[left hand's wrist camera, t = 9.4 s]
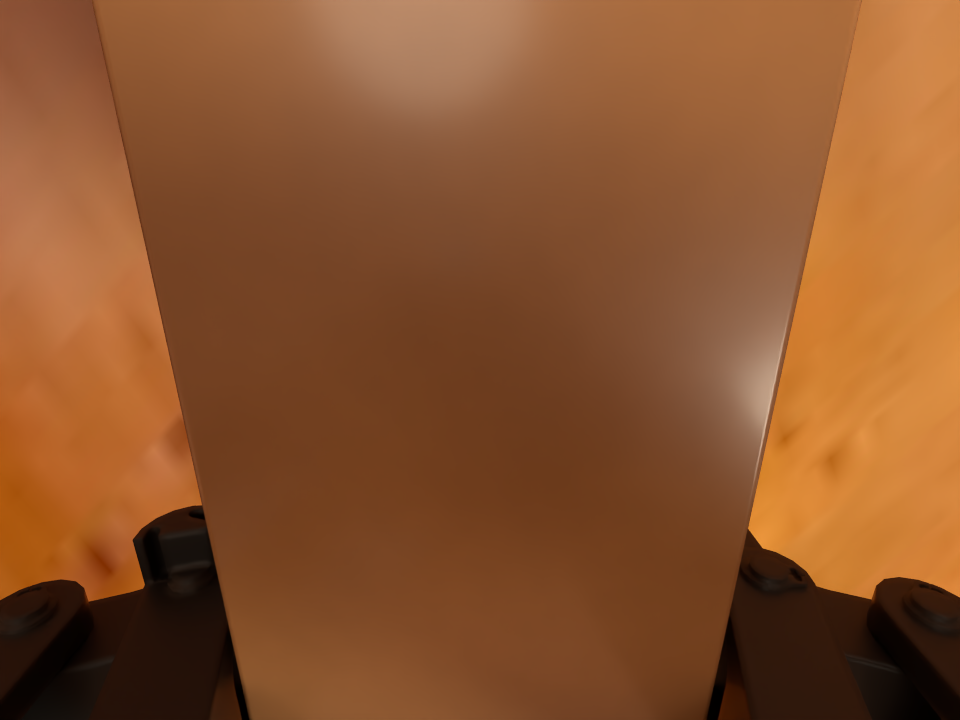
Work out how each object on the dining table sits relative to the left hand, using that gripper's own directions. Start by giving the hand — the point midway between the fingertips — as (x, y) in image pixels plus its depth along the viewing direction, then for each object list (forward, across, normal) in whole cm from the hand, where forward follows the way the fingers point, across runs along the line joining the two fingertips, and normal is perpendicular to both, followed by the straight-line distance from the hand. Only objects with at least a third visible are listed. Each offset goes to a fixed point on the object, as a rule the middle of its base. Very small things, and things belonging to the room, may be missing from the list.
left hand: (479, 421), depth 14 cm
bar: (+1, 0, -10) cm, 10 cm away
